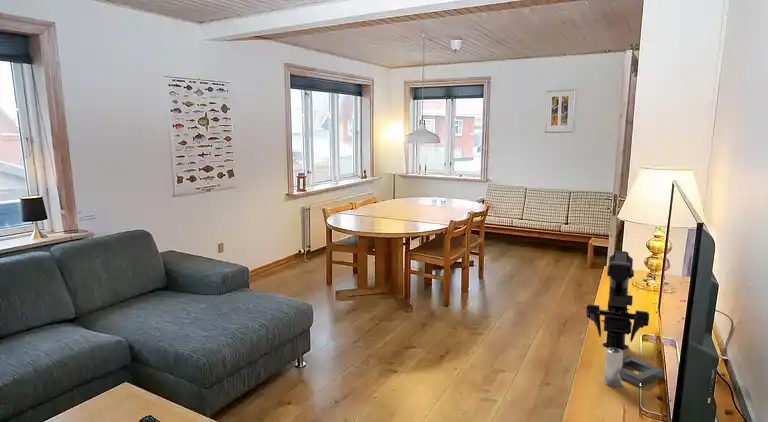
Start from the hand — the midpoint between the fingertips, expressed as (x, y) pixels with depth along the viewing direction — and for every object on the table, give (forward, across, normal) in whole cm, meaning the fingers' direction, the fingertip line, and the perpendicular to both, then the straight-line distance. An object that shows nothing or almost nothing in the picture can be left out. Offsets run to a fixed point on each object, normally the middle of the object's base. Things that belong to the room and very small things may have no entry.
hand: (615, 338), depth 158 cm
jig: (+6, +6, +11) cm, 14 cm away
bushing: (+13, 0, +5) cm, 14 cm away
